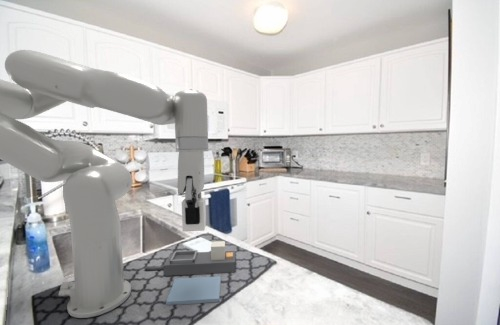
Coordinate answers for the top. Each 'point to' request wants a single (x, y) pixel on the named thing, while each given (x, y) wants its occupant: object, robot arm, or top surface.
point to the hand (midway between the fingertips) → (194, 219)
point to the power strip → (199, 261)
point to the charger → (202, 223)
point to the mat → (195, 290)
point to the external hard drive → (198, 245)
